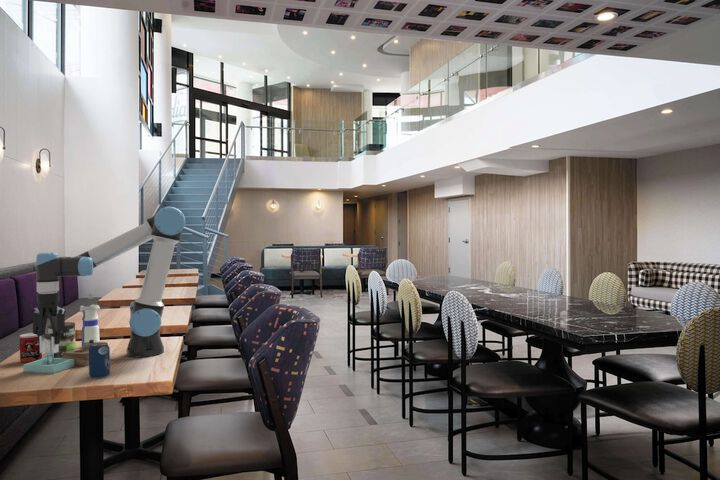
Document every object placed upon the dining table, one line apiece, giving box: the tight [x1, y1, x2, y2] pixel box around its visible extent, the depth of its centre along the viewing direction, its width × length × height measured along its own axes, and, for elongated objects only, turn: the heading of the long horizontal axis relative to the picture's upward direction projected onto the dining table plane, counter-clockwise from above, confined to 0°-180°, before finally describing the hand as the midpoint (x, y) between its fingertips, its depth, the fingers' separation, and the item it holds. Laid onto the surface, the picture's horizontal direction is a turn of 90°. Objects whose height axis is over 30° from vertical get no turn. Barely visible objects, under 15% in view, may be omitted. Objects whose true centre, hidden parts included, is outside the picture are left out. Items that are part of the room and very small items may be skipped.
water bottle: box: [79, 292, 101, 347], centre depth 243 cm, size 8×9×25 cm
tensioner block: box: [63, 340, 101, 367], centre depth 215 cm, size 14×10×8 cm
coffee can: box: [47, 321, 76, 358], centre depth 224 cm, size 10×10×14 cm
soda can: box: [88, 341, 111, 379], centre depth 193 cm, size 7×7×12 cm
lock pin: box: [42, 332, 54, 365], centre depth 203 cm, size 4×4×12 cm
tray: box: [22, 357, 75, 375], centre depth 203 cm, size 13×11×3 cm
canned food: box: [19, 332, 43, 364], centre depth 217 cm, size 8×8×11 cm
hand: (49, 352), depth 203 cm, fingers open, 4 cm apart
